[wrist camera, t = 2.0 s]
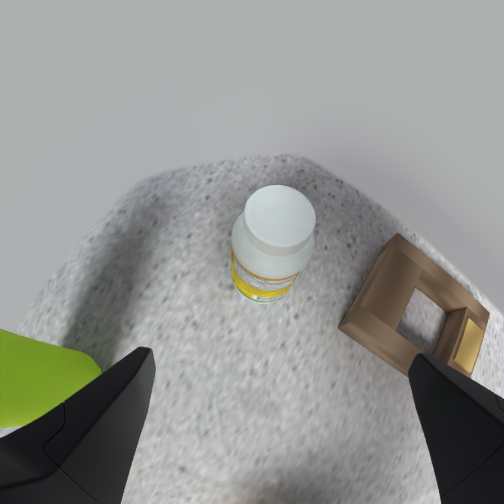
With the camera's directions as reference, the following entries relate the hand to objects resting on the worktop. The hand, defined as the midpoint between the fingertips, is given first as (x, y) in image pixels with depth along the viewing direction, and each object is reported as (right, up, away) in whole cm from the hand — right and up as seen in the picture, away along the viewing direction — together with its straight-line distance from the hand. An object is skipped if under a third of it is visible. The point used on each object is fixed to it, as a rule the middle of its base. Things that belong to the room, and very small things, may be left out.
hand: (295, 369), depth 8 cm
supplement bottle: (0, +2, +16) cm, 16 cm away
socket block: (+14, -3, +14) cm, 21 cm away
